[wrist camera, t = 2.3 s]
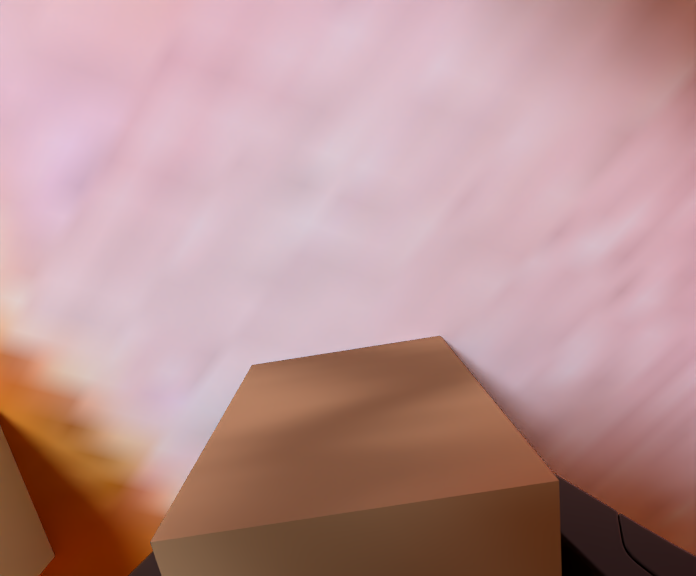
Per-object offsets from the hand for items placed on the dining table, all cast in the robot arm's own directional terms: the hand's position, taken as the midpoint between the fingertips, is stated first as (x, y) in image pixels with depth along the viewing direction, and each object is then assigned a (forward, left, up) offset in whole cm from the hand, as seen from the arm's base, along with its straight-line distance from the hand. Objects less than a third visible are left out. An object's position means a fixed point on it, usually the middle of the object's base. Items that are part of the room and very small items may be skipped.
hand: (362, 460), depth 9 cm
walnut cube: (0, 0, -1) cm, 1 cm away
